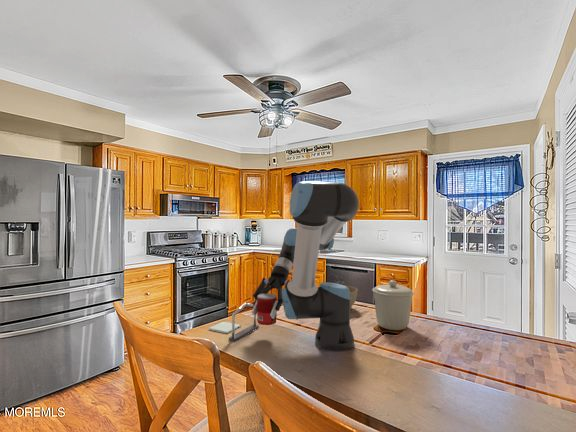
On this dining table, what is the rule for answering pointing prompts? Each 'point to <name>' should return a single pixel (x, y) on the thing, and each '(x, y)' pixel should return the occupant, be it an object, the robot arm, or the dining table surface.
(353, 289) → the planter bowl
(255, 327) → the metal handle
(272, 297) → the canned food
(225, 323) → the sage mat
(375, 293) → the canister
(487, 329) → the dining table surface
